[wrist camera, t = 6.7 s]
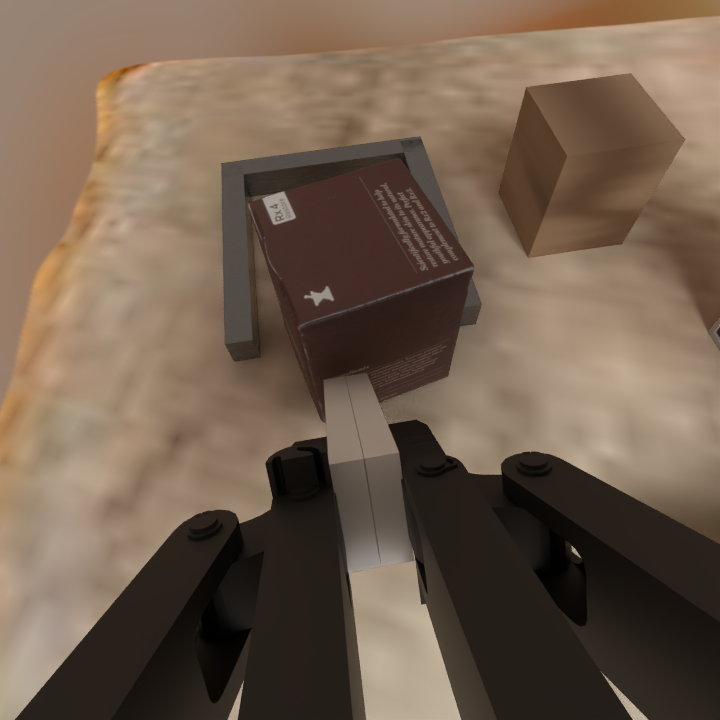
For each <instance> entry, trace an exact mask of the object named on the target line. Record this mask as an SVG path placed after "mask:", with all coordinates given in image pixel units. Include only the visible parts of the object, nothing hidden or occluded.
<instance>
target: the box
mask: <svg viewBox="0 0 720 720" xmlns="http://www.w3.org/2000/svg"><path fill="white" fill-rule="evenodd" d="M248 209H249V211H250V214H251V217H252V219H253V222H254V225H255V228H256V232H257V235H258V238H259V241H260V244H261V247H262V251H263V254H264V257H265V260H266V263H267V266H268V269H269V273H270V276H271V279H272V282H273V285H274V288H275V291H276V294H277V297H278V301H279V304H280V307H281V311H282V314H283V318H284V323H285V326H286V329H287V331H288V334H289V337H290V340H291V343H292V346H293V349H294V352H295V354H296V357H297V360H298V363H299V365H300V368H301V370H302V373H303V375H304V378H305V380H306V383H307V386H308V388H309V390H310V393H311V396H312V398H313V401H314V403H315V405H316V408H317V411H318V413H319V416H320V418H321V420H322V421H323V422H326V414H325V398H324V383H323V380H326V379H332V378H338V377H344V376H350V375H356V374H362V373H367V375H368V377H369V380H370V382H371V385H372V387H373V389H374V392H375V394H376V397H377V399H378V402H382V401H384V400H387V399H389V398H392V397H395V396H398V395H400V394H403V393H405V392H408V391H411V390H413V389H416V388H418V387H421V386H423V385H426V384H429V383H431V382H434V381H437V380H439V379H442V378H445V377H447V376H448V375H449V370H450V365H451V361H452V357H453V352H454V348H455V345H456V340H457V336H458V332H459V327H460V322H461V318H462V314H463V310H464V306H465V302H466V298H467V295H468V286H469V283H470V279H471V277H472V274H473V271H474V265H473V263H472V262H471V261H470V259H469V257H468V256H467V255H466V253H465V252H464V250H463V249H462V247H461V246H460V244H459V243H458V241H457V240H456V238H455V237H454V235H453V234H452V232H451V231H450V230H449V228H448V227H447V225H446V224H445V222H444V221H443V219H442V218H441V216H440V215H439V214H438V212H437V211H436V209H435V208H434V206H433V205H432V203H431V202H430V201H429V199H428V198H427V196H426V195H425V193H424V192H423V191H422V189H421V188H420V186H419V185H418V183H417V182H416V180H415V179H414V177H413V176H412V175H411V173H410V172H409V170H408V169H407V167H406V166H405V164H404V163H403V162H402V160H401V159H400V158H397V159H393V160H390V161H386V162H383V163H379V164H376V165H372V166H369V167H366V168H362V169H359V170H355V171H353V172H349V173H346V174H342V175H339V176H336V177H333V178H329V179H326V180H322V181H319V182H315V183H312V184H308V185H305V186H301V187H298V188H294V189H291V190H287V191H283V192H280V193H276V194H273V195H271V196H268V197H265V198H262V199H259V200H257V201H254V202H251V203H249V205H248ZM345 379H346V378H345Z"/></svg>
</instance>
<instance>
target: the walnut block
mask: <svg viewBox="0 0 720 720" xmlns="http://www.w3.org/2000/svg"><path fill="white" fill-rule="evenodd" d="M684 141H685V139H684V137H683V136H682V135H681V134H680V133H679V131H678V130H677V129H676V128H675V126H674V125H673V124H672V123H671V122H670V120H669V119H668V118H667V117H666V115H665V114H664V113H663V112H662V111H661V109H660V108H659V107H658V106H657V105H656V103H655V102H654V101H653V100H652V98H651V97H650V96H649V95H648V94H647V92H646V91H645V90H644V89H643V87H642V86H641V85H640V84H639V83H638V81H637V80H636V79H635V78H634V76H633V75H632V74H623V75H615V76H608V77H600V78H593V79H585V80H577V81H570V82H562V83H555V84H547V85H539V86H532V87H526V90H525V94H524V98H523V102H522V105H521V109H520V113H519V117H518V121H517V124H516V128H515V132H514V136H513V140H512V144H511V147H510V151H509V155H508V159H507V163H506V166H505V170H504V174H503V178H502V182H501V185H500V189H499V194H500V196H501V198H502V201H503V203H504V205H505V207H506V210H507V212H508V214H509V216H510V218H511V221H512V223H513V225H514V227H515V230H516V232H517V234H518V236H519V238H520V241H521V243H522V245H523V247H524V249H525V252H526V254H527V256H528V258H529V257H536V256H543V255H550V254H557V253H563V252H570V251H577V250H584V249H591V248H597V247H604V246H611V245H618V244H622V243H623V241H624V239H625V238H626V236H627V234H628V233H629V231H630V230H631V228H632V226H633V225H634V223H635V221H636V220H637V218H638V216H639V215H640V213H641V211H642V210H643V208H644V207H645V205H646V203H647V202H648V200H649V198H650V197H651V195H652V193H653V192H654V190H655V188H656V187H657V185H658V184H659V182H660V180H661V179H662V177H663V175H664V174H665V172H666V170H667V169H668V167H669V166H670V164H671V162H672V161H673V159H674V157H675V156H676V154H677V152H678V151H679V149H680V147H681V146H682V144H683V143H684Z"/></svg>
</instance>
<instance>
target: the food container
mask: <svg viewBox="0 0 720 720" xmlns="http://www.w3.org/2000/svg"><path fill="white" fill-rule="evenodd" d="M708 333H709V334H710V336H711V337H712V339H713V340H714V342H715V344H716V345H717V347H718V348H719V350H720V317H719V318H718V320H717V321H716V322H715V323H714V324H713V325H712V327H711V328H710V329H709V330H708Z"/></svg>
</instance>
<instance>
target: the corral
mask: <svg viewBox="0 0 720 720" xmlns="http://www.w3.org/2000/svg"><path fill="white" fill-rule="evenodd" d="M397 158H400V159H401V160H402V162H403V163H404V164H405V166H406V167H407V169H408V170H409V172H410V173H411V175H412V176H413V177H414V179H415V180H416V182H417V183H418V185H419V186H420V188H421V189H422V191H423V192H424V193H425V195H426V196H427V198H428V199H429V201H430V202H431V203H432V205H433V206H434V208H435V209H436V211H437V212H438V214H439V215H440V216H441V218H442V219H443V221H444V222H445V224H446V225H447V227H448V228H449V230H450V231H451V232H452V234H453V235H454V237H455V238H456V240H457V241H458V238H457V236H456V233H455V230H454V228H453V225H452V222H451V219H450V217H449V214H448V211H447V208H446V206H445V203H444V200H443V197H442V195H441V192H440V189H439V186H438V184H437V181H436V178H435V175H434V173H433V170H432V167H431V164H430V162H429V159H428V156H427V153H426V151H425V148H424V145H423V142H422V140H421V137H412V138H405V139H398V140H390V141H383V142H375V143H368V144H361V145H353V146H346V147H338V148H331V149H324V150H316V151H309V152H302V153H294V154H287V155H279V156H272V157H265V158H257V159H250V160H242V161H235V162H228V163H221V166H222V220H223V273H224V326H225V345H226V347H227V349H228V351H229V353H230V355H231V357H232V358H233V360H234V361H240V360H247V359H253V358H259V357H260V348H259V332H258V316H257V300H256V284H255V268H254V252H253V236H252V220H251V214H250V211H249V209H248V205H249V203H250V196H255V195H262V194H269V193H277V192H283V191H287V190H291V189H294V188H298V187H301V186H305V185H308V184H312V183H315V182H319V181H322V180H326V179H329V178H333V177H336V176H339V175H342V174H346V173H349V172H353V171H355V170H359V169H362V168H366V167H369V166H372V165H376V164H379V163H383V162H386V161H390V160H393V159H397ZM458 243H459V241H458ZM481 305H482V304H481V302H480V299H479V296H478V293H477V291H476V288H475V285H474V282H473V280H472V277H471V279H470V283H469V286H468V295H467V298H466V302H465V306H464V310H463V314H462V318H461V322H460V326H464V325H471V324H476V321H477V318H478V315H479V311H480V308H481Z"/></svg>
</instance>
